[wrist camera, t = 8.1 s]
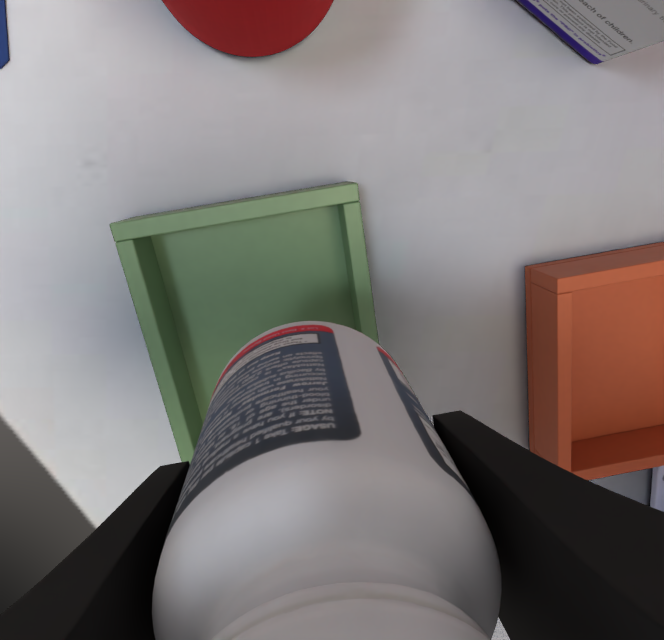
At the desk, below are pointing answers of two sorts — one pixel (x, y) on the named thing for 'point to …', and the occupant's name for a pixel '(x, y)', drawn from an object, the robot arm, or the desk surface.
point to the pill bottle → (323, 506)
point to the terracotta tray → (597, 361)
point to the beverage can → (249, 23)
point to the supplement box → (602, 24)
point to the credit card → (3, 35)
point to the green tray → (240, 284)
